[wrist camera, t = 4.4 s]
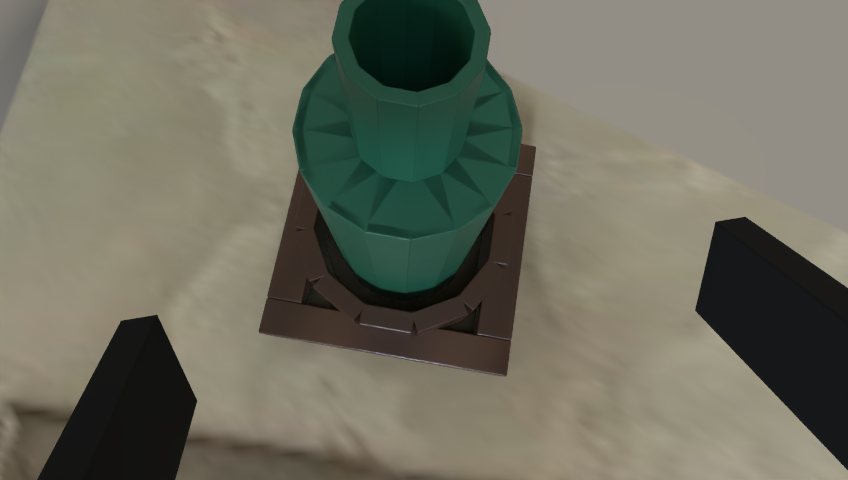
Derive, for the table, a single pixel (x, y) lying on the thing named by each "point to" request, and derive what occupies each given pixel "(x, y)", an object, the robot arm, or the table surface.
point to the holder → (396, 328)
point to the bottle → (407, 140)
